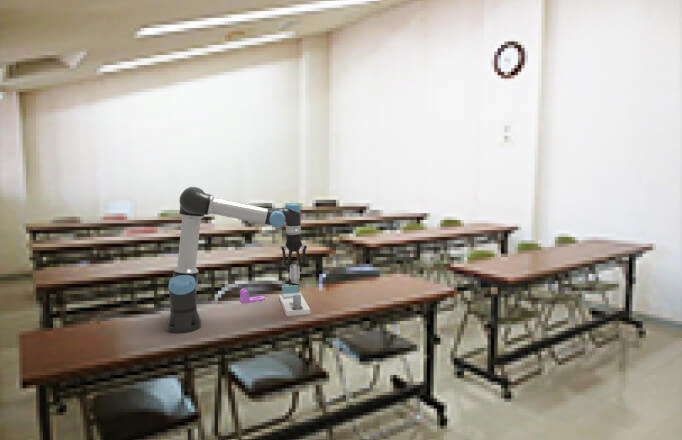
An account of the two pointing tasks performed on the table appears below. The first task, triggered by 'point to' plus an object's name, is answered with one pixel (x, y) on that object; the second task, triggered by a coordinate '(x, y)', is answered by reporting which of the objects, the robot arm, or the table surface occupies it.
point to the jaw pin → (294, 273)
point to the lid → (290, 291)
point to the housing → (294, 305)
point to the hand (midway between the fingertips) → (294, 278)
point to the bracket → (247, 299)
